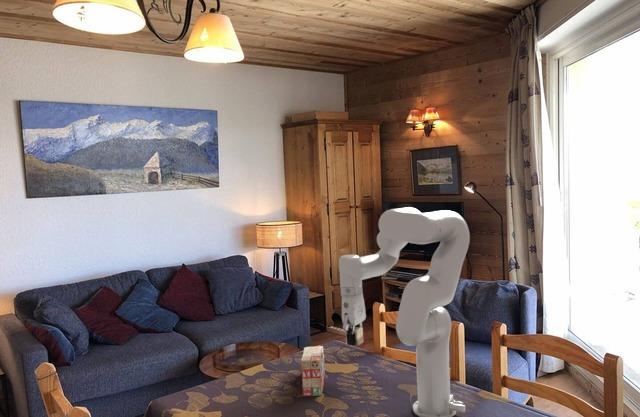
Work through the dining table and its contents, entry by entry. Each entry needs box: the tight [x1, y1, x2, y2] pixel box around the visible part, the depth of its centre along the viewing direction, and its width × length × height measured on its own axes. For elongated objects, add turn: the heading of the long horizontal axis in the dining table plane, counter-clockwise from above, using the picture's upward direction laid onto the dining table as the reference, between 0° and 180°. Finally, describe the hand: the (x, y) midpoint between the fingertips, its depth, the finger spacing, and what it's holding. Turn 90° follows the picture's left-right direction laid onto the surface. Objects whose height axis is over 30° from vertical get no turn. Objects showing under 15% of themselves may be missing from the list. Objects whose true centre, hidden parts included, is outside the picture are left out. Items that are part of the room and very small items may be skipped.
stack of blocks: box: [300, 345, 326, 397], centre depth 174 cm, size 21×6×12 cm, turn 177°
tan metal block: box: [344, 326, 364, 347], centre depth 175 cm, size 4×4×5 cm
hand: (354, 341), depth 175 cm, fingers closed on tan metal block, 4 cm apart
